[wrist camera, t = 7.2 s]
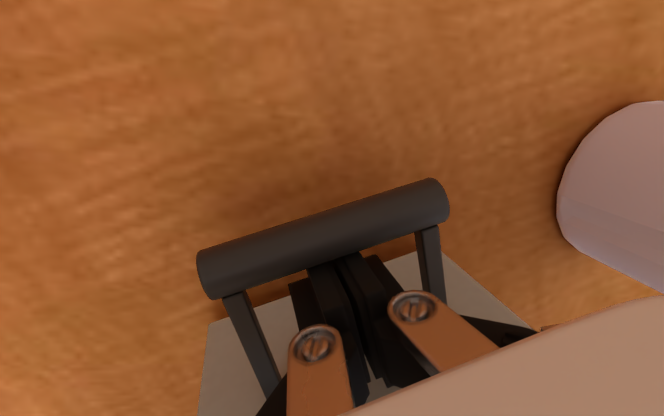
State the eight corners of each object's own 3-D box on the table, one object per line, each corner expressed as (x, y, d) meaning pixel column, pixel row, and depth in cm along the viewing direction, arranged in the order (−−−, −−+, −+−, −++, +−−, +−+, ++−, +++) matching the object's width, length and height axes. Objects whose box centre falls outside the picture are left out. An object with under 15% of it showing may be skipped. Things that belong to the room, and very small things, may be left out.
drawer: (153, 211, 13) (55, 363, 6) (420, 132, 15) (585, 181, 8) (289, 490, 21) (314, 701, 14) (455, 418, 22) (554, 573, 15)
